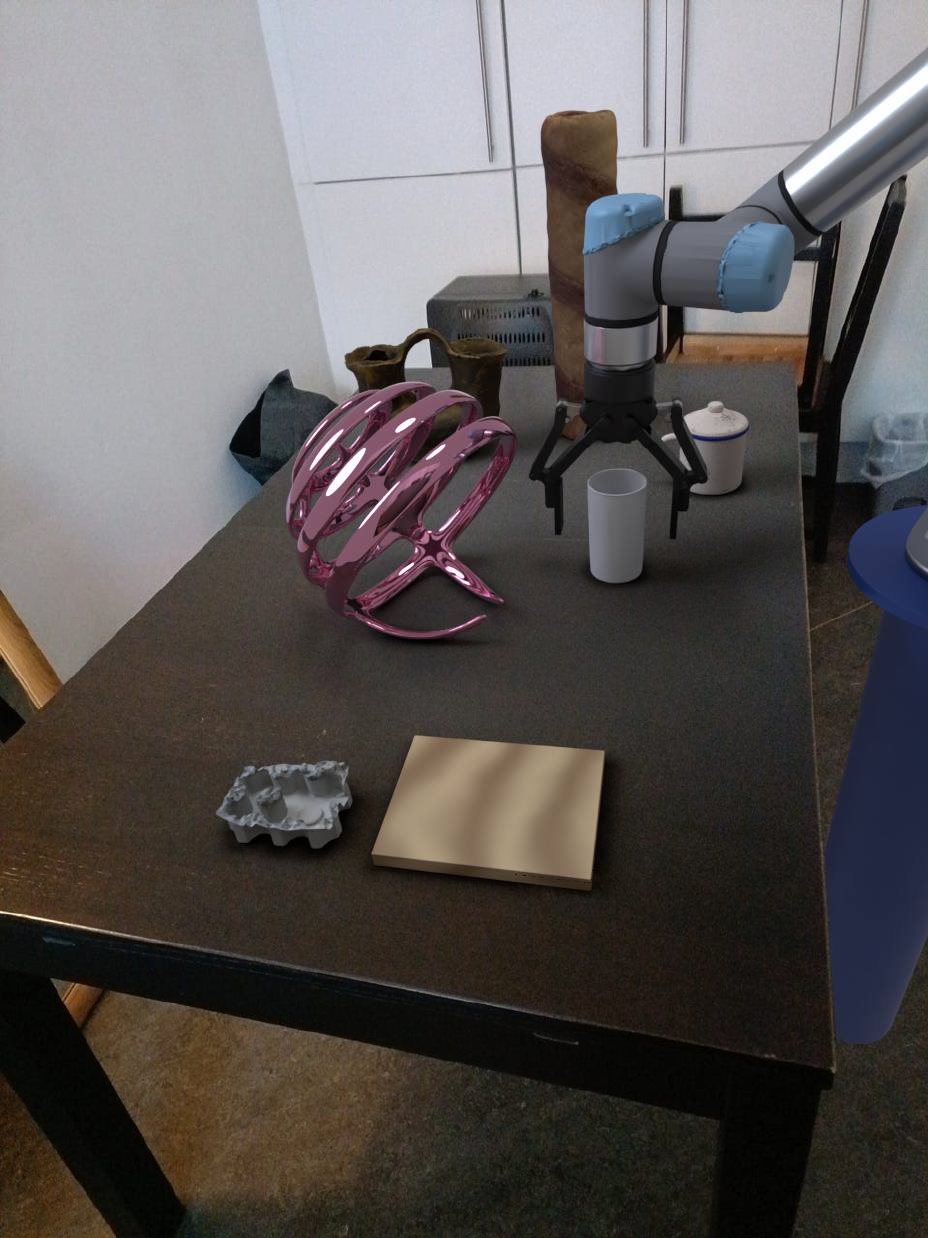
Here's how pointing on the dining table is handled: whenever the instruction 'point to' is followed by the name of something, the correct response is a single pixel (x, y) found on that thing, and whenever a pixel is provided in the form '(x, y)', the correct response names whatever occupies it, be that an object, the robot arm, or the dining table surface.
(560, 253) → the wafer roll
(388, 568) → the dining table surface
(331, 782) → the egg carton
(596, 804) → the board
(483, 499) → the spiral basket
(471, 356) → the pottery vessel
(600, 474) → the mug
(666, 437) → the teacup with lid
